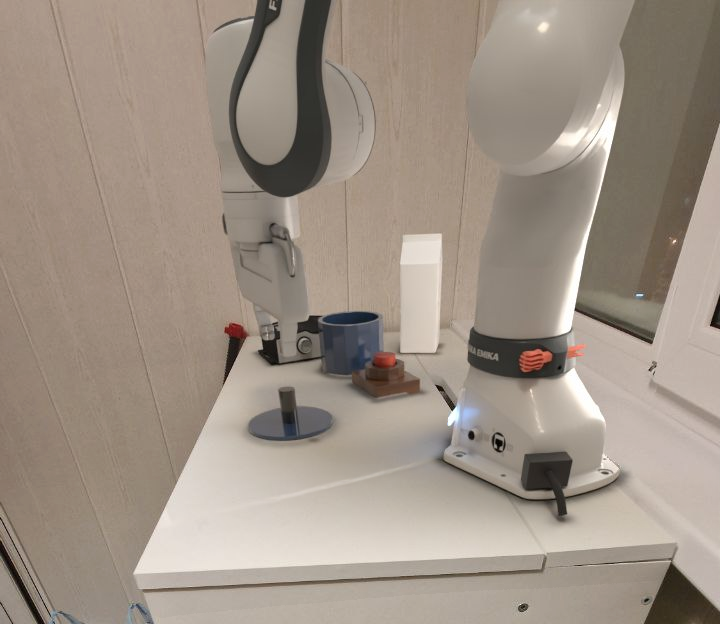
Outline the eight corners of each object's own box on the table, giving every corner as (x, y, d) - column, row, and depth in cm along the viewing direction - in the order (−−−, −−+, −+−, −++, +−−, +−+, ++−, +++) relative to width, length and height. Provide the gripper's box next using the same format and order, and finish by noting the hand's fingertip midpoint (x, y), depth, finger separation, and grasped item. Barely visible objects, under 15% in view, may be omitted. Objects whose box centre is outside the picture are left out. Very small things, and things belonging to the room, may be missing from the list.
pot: (394, 371, 102) (393, 319, 97) (336, 382, 99) (332, 328, 93) (368, 356, 110) (366, 308, 105) (313, 366, 107) (309, 316, 101)
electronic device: (252, 323, 114) (343, 310, 119) (257, 352, 117) (344, 338, 122) (269, 336, 104) (366, 322, 109) (273, 367, 108) (368, 352, 113)
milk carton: (435, 353, 110) (440, 235, 97) (399, 353, 111) (399, 237, 98) (438, 344, 115) (443, 231, 102) (404, 344, 116) (405, 232, 104)
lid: (346, 433, 80) (343, 393, 77) (262, 451, 77) (255, 410, 73) (316, 408, 89) (312, 370, 85) (240, 422, 86) (232, 384, 82)
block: (419, 392, 92) (420, 366, 90) (376, 401, 90) (375, 375, 88) (393, 377, 99) (392, 353, 97) (352, 385, 97) (351, 360, 95)
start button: (399, 366, 92) (399, 355, 90) (379, 370, 91) (379, 358, 90) (389, 361, 94) (389, 350, 93) (370, 365, 93) (370, 353, 92)
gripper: (317, 226, 60) (326, 362, 70) (264, 213, 74) (277, 328, 84) (261, 230, 59) (278, 370, 68) (218, 216, 73) (236, 334, 82)
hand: (277, 347), depth 76 cm, fingers open, 8 cm apart
